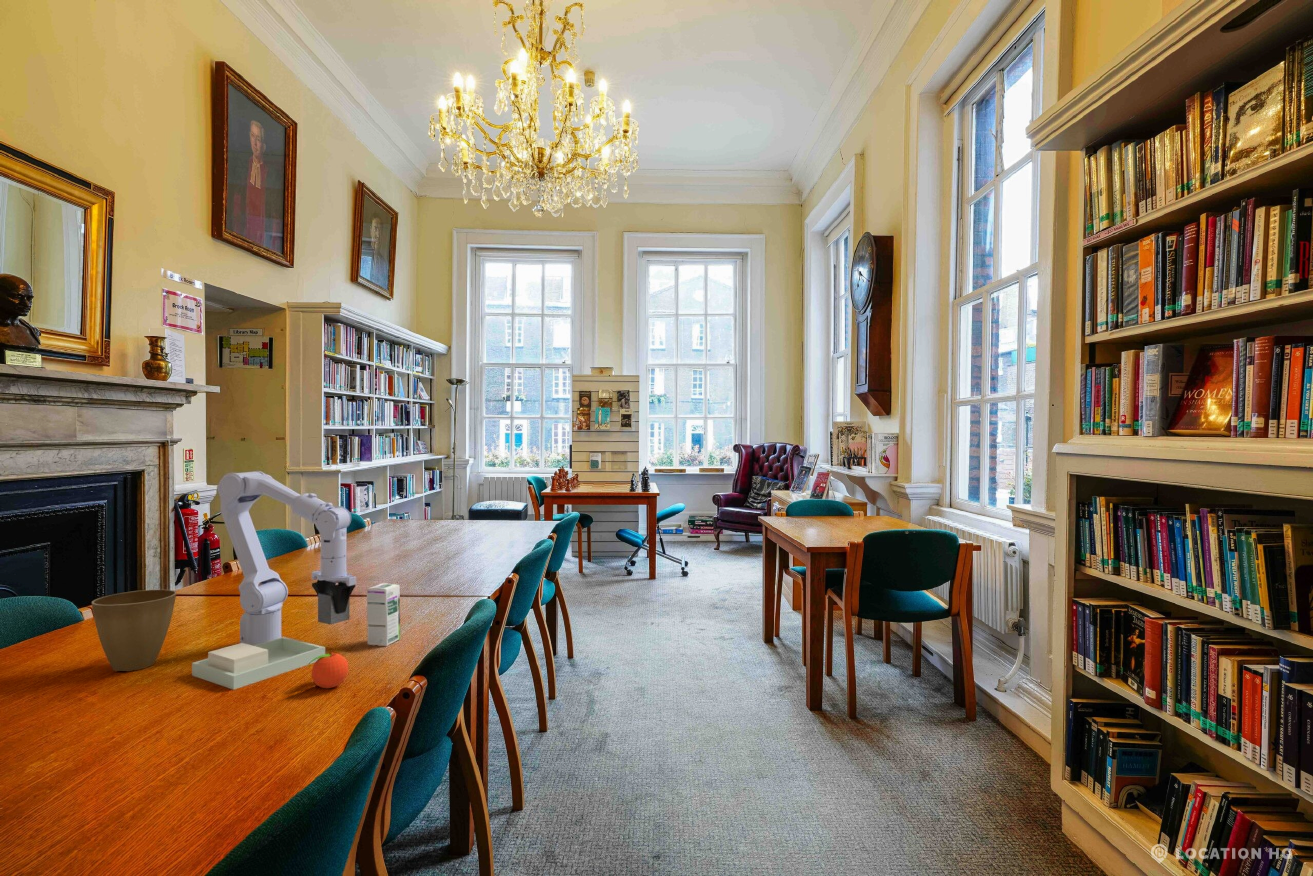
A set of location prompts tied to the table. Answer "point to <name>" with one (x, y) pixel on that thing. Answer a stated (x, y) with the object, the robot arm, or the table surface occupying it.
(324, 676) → the clementine
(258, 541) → the robot arm
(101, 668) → the table surface
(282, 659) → the pale green tray
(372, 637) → the syrup box
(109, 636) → the plant pot
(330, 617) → the tin
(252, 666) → the off-white block
